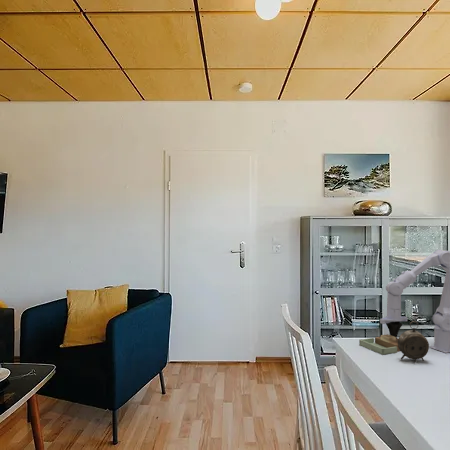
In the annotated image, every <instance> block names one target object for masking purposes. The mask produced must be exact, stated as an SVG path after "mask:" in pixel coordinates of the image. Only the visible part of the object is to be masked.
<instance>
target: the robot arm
mask: <svg viewBox="0 0 450 450" xmlns="http://www.w3.org/2000/svg"><path fill="white" fill-rule="evenodd" d="M436 266H441V268H442V269H443V270H444V271H445V277H444V282H443V287H442V292H441V297H440V303H439V305H438V307H437V308H436V310H435V312H434V314H433V315H432V322H433V324H434V328H433V329H434V331H433V332H434V333H433V335H434V338H433V339H434V341H433V342H434V343H433V345H431V346H430V345H429V349H434V350H437V351H439V352H441V353H445V354H447V353H450V250H443V249H436V250H435V251H433V252H431V253H430V254H428V256H426V257H425V258H424V259H422V261H420V262H419V263H418V264H417V265H416V266H414V267H413V268H412V269H411V270H405V271H404V270H403V271H401V272H400V273H401V274H400V275H398V276H397V277H395V278H392V281H389V282H388V283H387V284H386V286H385V290H386V292H387V296H386V316H385V317H382V318H379V323H380V324H381V325H386V327H387V329H388V331H389V335H391V336H394V337H396V338H398V335H399V331H400V329H401V328H402V326H403V323H402V322H408V316H405V315H403V316H402V299H401V298H402V296H401V295H402V294H403V293H404V290H405V289H406V288H408V287H409V286H410V285H412V284H413V283H415V282H416V281H417V276H419V275H421V274H422V273H424V272H425V271H426V270H428V269H429V268H431V267H436Z"/></svg>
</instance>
